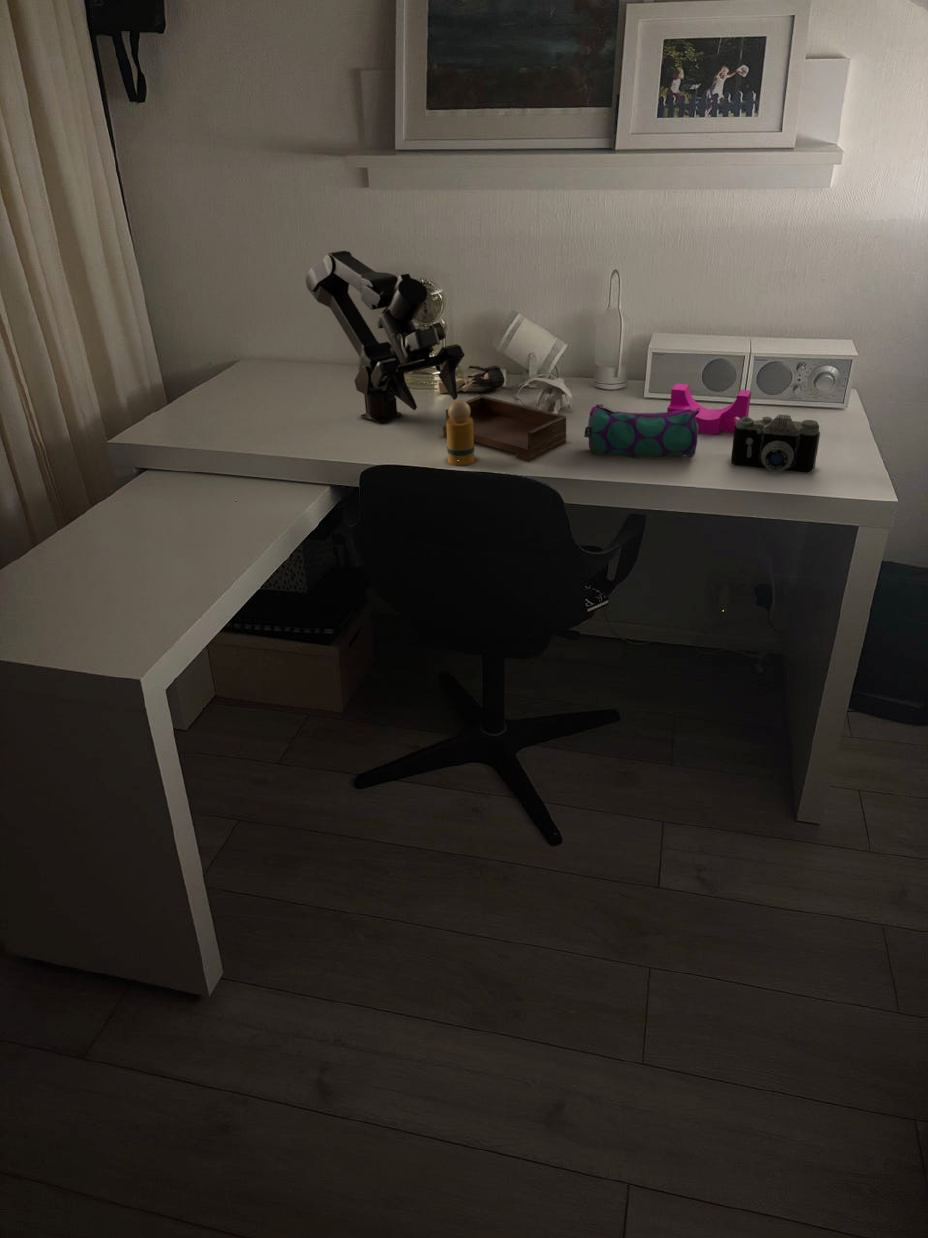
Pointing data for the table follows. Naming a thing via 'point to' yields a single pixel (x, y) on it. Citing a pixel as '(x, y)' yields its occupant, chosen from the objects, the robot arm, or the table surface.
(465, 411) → the doll
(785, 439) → the camera
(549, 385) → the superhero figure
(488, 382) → the toy figure
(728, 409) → the toy block
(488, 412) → the wooden desk tray
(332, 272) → the robot arm
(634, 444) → the pencil case
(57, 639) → the table surface
